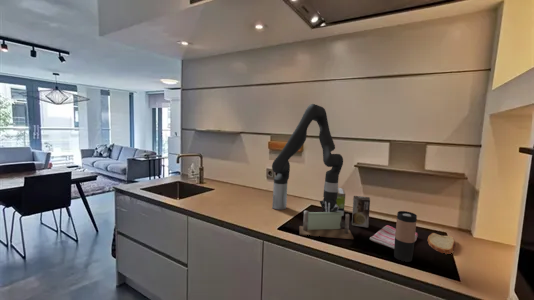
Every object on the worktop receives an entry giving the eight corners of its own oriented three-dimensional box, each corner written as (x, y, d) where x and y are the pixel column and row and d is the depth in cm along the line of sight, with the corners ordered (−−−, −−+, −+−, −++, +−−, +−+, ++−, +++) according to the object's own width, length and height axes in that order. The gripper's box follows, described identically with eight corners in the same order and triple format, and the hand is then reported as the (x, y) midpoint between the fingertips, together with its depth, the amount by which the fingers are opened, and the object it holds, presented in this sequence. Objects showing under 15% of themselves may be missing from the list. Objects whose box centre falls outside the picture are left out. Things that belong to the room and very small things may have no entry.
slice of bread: (444, 256, 119) (445, 248, 119) (414, 238, 136) (414, 231, 136) (475, 252, 123) (476, 245, 123) (442, 236, 141) (442, 229, 140)
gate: (308, 229, 139) (309, 213, 138) (307, 228, 140) (308, 212, 139) (340, 229, 141) (341, 212, 140) (339, 227, 143) (340, 211, 142)
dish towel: (418, 239, 137) (419, 232, 136) (405, 254, 120) (405, 246, 119) (384, 229, 148) (385, 223, 148) (368, 241, 131) (368, 234, 131)
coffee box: (367, 223, 154) (370, 197, 152) (368, 228, 147) (370, 200, 146) (351, 221, 156) (353, 195, 155) (351, 225, 150) (353, 198, 149)
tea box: (344, 216, 165) (345, 193, 163) (327, 214, 167) (329, 192, 165) (342, 209, 179) (343, 187, 178) (327, 207, 181) (328, 186, 180)
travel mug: (389, 253, 119) (393, 210, 117) (405, 253, 119) (409, 210, 117) (399, 262, 111) (404, 217, 109) (416, 262, 112) (421, 217, 110)
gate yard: (299, 234, 135) (300, 214, 134) (299, 227, 145) (300, 207, 144) (353, 239, 132) (355, 218, 131) (349, 231, 142) (350, 211, 141)
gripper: (317, 187, 147) (314, 217, 149) (336, 193, 137) (333, 225, 139) (326, 186, 152) (323, 214, 154) (345, 192, 141) (342, 222, 143)
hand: (328, 219), depth 146 cm, fingers closed
